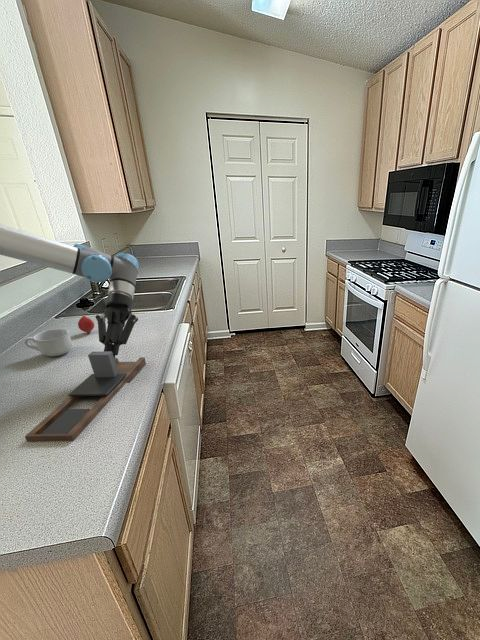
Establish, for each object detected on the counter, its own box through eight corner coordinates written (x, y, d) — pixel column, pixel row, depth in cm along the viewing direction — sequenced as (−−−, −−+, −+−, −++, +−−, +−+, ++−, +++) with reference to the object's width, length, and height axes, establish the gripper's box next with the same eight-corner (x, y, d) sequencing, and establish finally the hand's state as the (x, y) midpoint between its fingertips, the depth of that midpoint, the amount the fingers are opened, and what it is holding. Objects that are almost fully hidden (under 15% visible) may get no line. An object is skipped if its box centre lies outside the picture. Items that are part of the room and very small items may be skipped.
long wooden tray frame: (114, 364, 116) (112, 357, 115) (146, 363, 116) (144, 357, 115) (28, 445, 79) (24, 436, 77) (75, 444, 79) (71, 435, 77)
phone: (68, 411, 89) (67, 408, 88) (91, 411, 89) (90, 408, 88) (40, 438, 79) (38, 435, 79) (65, 438, 79) (64, 435, 79)
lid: (92, 375, 103) (84, 351, 99) (126, 375, 103) (119, 351, 99) (68, 396, 92) (58, 370, 89) (106, 395, 92) (98, 369, 89)
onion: (80, 336, 140) (74, 318, 137) (81, 331, 145) (76, 314, 141) (95, 334, 142) (90, 316, 139) (97, 329, 147) (91, 312, 143)
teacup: (79, 346, 130) (73, 327, 127) (67, 358, 121) (59, 338, 117) (40, 349, 128) (32, 330, 125) (24, 361, 119) (16, 341, 115)
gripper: (145, 302, 114) (135, 368, 106) (107, 303, 114) (94, 368, 106) (135, 291, 107) (123, 360, 99) (94, 292, 107) (80, 361, 99)
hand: (108, 364), depth 103 cm, fingers closed
